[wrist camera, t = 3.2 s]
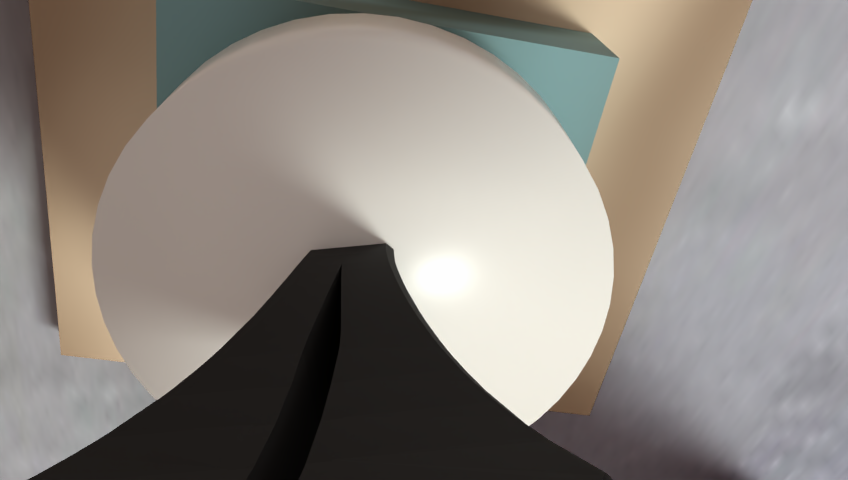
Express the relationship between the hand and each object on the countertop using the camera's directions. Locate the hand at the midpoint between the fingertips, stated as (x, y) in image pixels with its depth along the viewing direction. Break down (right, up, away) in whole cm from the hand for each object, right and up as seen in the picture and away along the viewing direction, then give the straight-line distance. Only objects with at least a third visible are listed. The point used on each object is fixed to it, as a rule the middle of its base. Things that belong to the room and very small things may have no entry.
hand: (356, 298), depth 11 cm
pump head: (0, +2, +4) cm, 4 cm away
